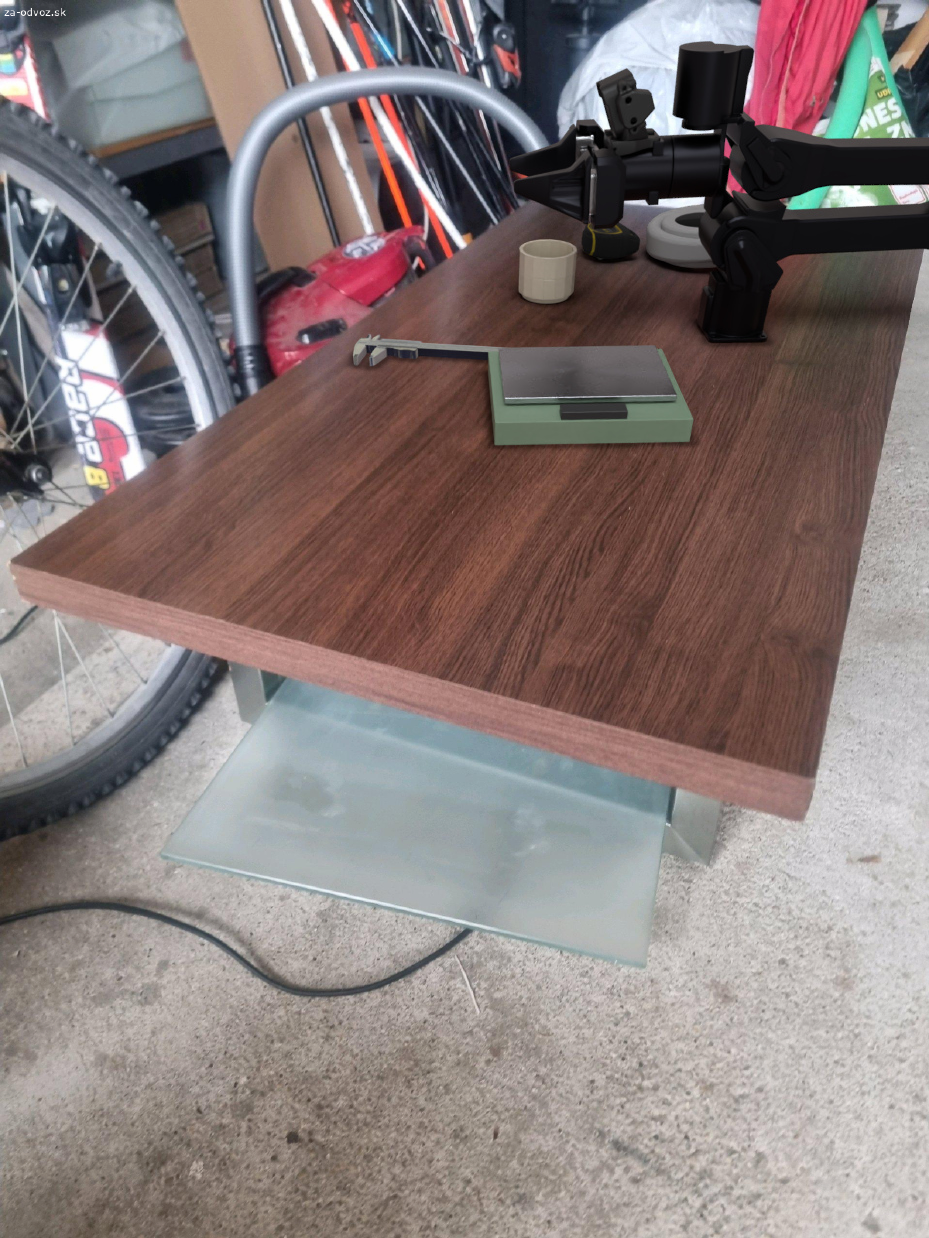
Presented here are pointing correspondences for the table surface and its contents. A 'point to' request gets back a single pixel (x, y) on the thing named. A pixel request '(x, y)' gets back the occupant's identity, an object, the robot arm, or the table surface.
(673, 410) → the scale
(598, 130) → the robot arm
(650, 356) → the scale pan
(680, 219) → the grey donut ring
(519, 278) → the cup
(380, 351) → the caliper
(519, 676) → the table surface
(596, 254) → the tape measure
